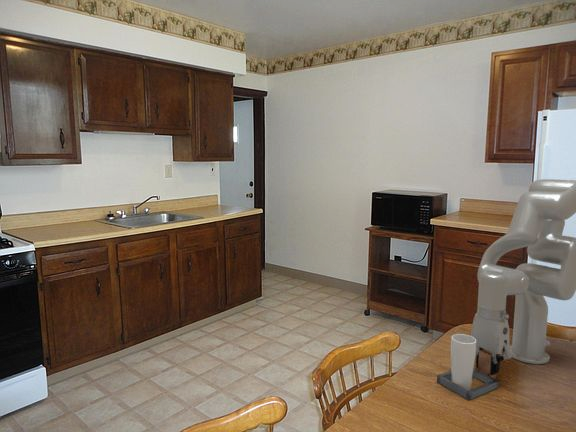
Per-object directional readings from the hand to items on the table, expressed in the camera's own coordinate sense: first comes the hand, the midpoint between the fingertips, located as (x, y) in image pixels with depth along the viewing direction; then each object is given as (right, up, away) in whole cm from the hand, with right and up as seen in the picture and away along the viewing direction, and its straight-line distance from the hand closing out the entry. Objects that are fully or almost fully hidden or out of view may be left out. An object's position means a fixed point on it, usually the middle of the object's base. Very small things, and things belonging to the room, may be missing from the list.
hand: (487, 369), depth 125 cm
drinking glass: (-10, -3, -5) cm, 12 cm away
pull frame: (-6, -3, -3) cm, 7 cm away
